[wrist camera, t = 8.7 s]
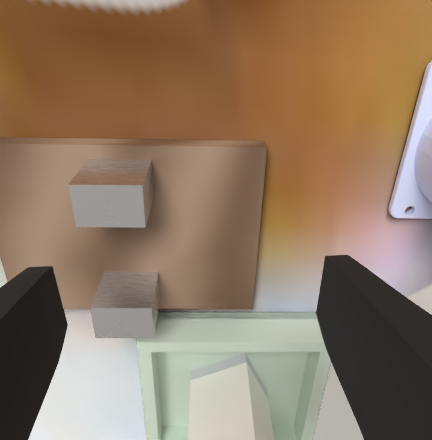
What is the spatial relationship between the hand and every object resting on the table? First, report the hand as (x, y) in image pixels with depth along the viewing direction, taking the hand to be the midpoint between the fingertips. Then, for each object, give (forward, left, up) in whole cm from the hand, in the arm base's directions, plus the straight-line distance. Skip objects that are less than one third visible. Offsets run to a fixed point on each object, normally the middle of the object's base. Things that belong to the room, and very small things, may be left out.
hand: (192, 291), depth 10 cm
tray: (-2, +16, -10) cm, 19 cm away
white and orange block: (-2, +16, -10) cm, 19 cm away
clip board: (+4, +4, -10) cm, 12 cm away
